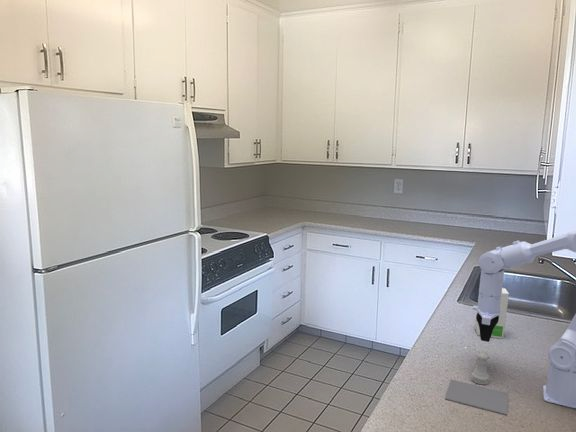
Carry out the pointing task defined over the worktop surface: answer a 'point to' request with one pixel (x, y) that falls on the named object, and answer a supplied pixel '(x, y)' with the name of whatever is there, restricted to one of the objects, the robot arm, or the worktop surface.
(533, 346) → the worktop surface
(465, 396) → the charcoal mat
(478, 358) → the rook chess piece
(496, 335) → the skincare box
